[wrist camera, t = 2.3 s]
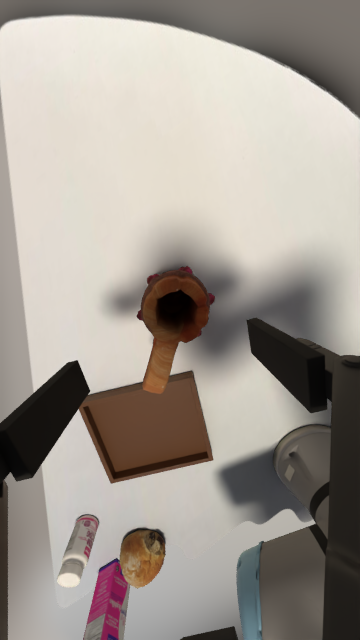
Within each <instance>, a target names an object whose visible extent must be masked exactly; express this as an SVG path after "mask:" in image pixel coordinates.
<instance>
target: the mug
mask: <svg viewBox="0 0 360 640" xmlns="http://www.w3.org/2000/svg"><path fill="white" fill-rule="evenodd" d="M147 283H148V287H147V288H146V290H145V292H144V295H143V298H142V303H141V310H140V311H139V312H138V314H137V318H138V319H139V320H142V321H143V322H144V323H145V325H146V327H147V328H148V330H149V331H150V332H151V333H152V334H153V336H154V340H153V348H152V351H151V355H150V359H149V362H148V366H147V369H146V373H145V376H144V379H143V385H142V387H143V389H144V390H146V391H149V392H151V393H158V394H161V393H163V392H164V390H165V388H166V386H167V383H168V380H169V376H170V372H171V367H172V363H173V359H174V355H175V352H176V349H177V347H178V343H179V342H180V341H182V342H184V343H187V342H189V341H192V340H193V339H195V338H196V337H199V336H200V335H201V332H202V331H201V329H202V328H203V327H205V326H206V324H207V322H208V319H209V317H208V314H209V309H210V305H211V304H212V303H213V302H214V301H215V296H213V295H212V294H211V293H208V292H207V290H206V288H205V286H204V285H203V284H202V282H201V281H200V280H199V279H198V278H197V277H195V276H194V275H192V270H191V269H190V267H188V266H186V267H181V268H180V269H179V270H172V271H167V272H165V273H162V274H161V275H158V274H154V275H150V276H149V277H148V278H147Z"/></svg>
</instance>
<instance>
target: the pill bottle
mask: <svg viewBox="0 0 360 640" xmlns="http://www.w3.org/2000/svg"><path fill="white" fill-rule="evenodd" d="M97 528H98V520H97V519H96V518H95V517H93V516H90V515H85V516H82V517H80V518H79V519H78V520H77V522H76V525H75V527H74V530H73V532H72V535H71V538H70V540H69V543H68V546H67V548H66V551H65V554H64V556H63V559H62V567H61V570H60V572H59V575H58V578H57V581H58V583H59V584H60V585H61V586H63V587H67V588H70V587H75V586H76V585H78V584H79V582H80V579H81V576H82V573H83V569H84V568H85V567H86V565H87V562H88V559H89V556H90V552H91V549H92V545H93V542H94V538H95V535H96V532H97Z"/></svg>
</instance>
